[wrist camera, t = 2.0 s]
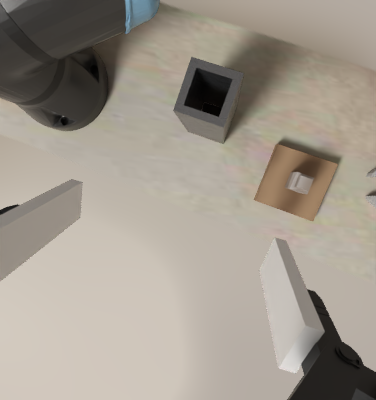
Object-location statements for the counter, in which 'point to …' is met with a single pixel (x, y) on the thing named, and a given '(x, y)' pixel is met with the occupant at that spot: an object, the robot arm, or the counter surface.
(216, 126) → the grey square tube
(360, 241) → the counter surface
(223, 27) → the counter surface
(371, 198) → the adjustable wrench
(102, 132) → the counter surface
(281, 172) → the drive block
